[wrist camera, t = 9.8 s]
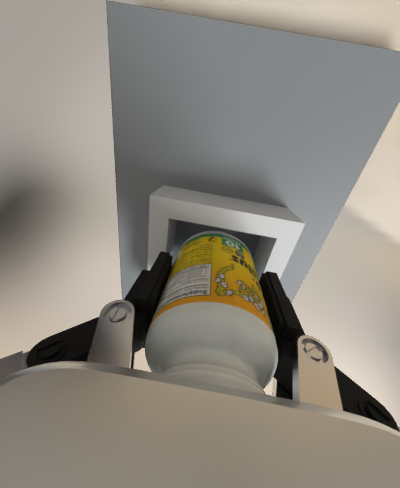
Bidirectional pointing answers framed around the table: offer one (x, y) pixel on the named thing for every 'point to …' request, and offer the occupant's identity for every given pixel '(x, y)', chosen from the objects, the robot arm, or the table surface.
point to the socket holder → (238, 135)
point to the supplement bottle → (213, 317)
